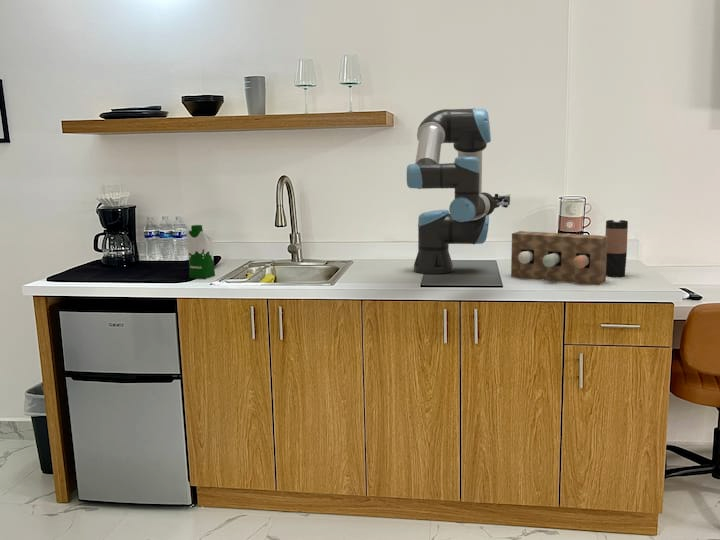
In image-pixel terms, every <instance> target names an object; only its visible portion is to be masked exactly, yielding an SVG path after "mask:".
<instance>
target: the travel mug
mask: <svg viewBox="0 0 720 540" xmlns="http://www.w3.org/2000/svg"><path fill="white" fill-rule="evenodd" d="M628 225H629V221H628V220H624V219H622V220H621V219H620V220H619V221H618V220H617V221H615V220H614V219H610V220H609V219H608V220H606V221H605V235H604V236H608V237H607V261H606V277H609V278H610V277H611V278H623V277H626V267H627V255H628V254H627V253H628V233H629V231H628V228H629V227H628Z"/></svg>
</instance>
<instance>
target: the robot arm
mask: <svg viewBox="0 0 720 540" xmlns="http://www.w3.org/2000/svg"><path fill="white" fill-rule="evenodd" d="M490 124H491V123H490V118H489V112H488V111H487V110H486V108H485V109H484V108H476V107H472V108H455V109H453V108H451V109H449V108H448V109H447V108H445V109H439V110H437V111H434V112H433V113H430V114H429V115H428V116H426V117H425V118H424V119H423V120H422V121H421V123H420V124H419V125H418V128H417V133H416V138H417V141H418V144H417V150H416V154H415V155H416V156H415V163H412V164H407V166H406V186H407V187H408V188H409V189H417V190H423V189H424V190H426V189H430V190H431V189H454V199H453V200H452V201H451V202H450V204H449V209H438V210H437V209H436V210H430V211H425V212H422V213H420V214H419V215H418V220H417V221H418V222H417V227H418V228H417V230H418V233H417V234H418V235H417V236H418V241H417V242H418V243H417V245H418V247H417V249H418V250H417V254H416V258H415V260H414V264H413V272H416V273H420V274H425V275H427V274H428V275H436V274H437V275H439V274H448V273H452V272H453V271H454V264H453V261H452V258H451V255H450V251H449V246H450V245H482V244H484V243H486V242H487V241H486V240H487V237H488V231H489V226H490V225H489V223H490V215H491V214H492V213H493V212H494V211H495V209H498V208H500V206H501V207H502V208H508V206H509V205H511V194H510V193H505V194H500V195H499V193H494V196H493V195H492V194H490V193H489V192H484V191H483V190H482V187H483V186H482V185H483V181H482V180H483V176H482V175H483V151H484V150H485V149H487V144H488V143H491V142H492V139H491V138H492V136H491V126H490ZM443 144H453V149H454V150H455V151H456V152H457V157H455V158H454V162H451V163H448V162H447V163H440V161H441V160H440V159H441V150H442V149H441V148H442V145H443Z"/></svg>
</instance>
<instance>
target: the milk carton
mask: <svg viewBox="0 0 720 540" xmlns="http://www.w3.org/2000/svg"><path fill="white" fill-rule="evenodd" d="M190 227H191V228H190V230H186V231H185V235H186V239H187V251H188V269H189V271H188V273H189V279H201V280H202V279H203V280H206V279H210V278H212V277H215V276H216V273H215V262H214V261H215V260H214V245H213V244H214V243H213V240H214V231H215V229H211V228H210V229H206V228H204V229H203V225H201V224H193V225H191V226H190Z"/></svg>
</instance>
